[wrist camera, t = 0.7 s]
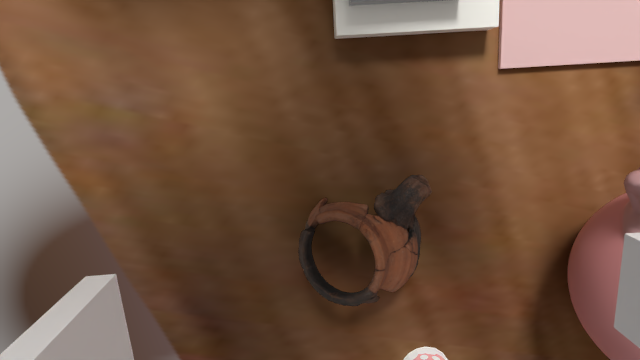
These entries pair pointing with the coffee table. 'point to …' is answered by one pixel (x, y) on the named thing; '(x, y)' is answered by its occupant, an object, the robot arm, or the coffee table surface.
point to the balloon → (604, 270)
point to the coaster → (384, 1)
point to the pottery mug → (373, 239)
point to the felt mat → (568, 32)
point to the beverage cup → (425, 354)
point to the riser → (413, 18)
